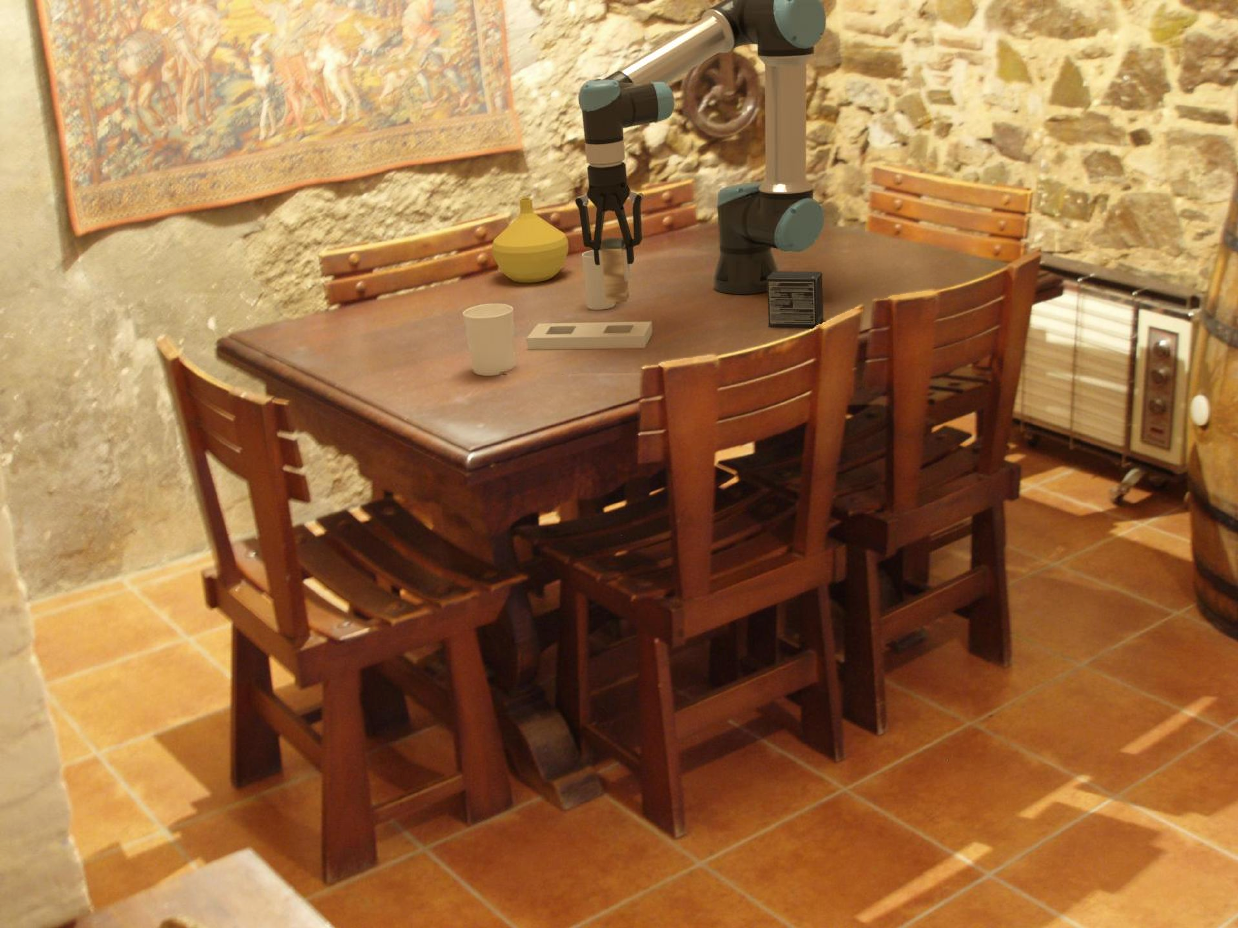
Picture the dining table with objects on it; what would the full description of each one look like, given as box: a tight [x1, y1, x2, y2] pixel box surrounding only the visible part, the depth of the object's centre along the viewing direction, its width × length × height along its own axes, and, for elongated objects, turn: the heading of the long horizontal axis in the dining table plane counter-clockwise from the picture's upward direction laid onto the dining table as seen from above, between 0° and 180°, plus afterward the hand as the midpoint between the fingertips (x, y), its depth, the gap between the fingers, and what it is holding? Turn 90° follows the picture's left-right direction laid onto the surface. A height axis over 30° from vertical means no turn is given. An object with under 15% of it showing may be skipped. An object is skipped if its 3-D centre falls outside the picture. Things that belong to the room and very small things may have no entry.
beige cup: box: [462, 303, 516, 377], centre depth 278 cm, size 10×10×12 cm
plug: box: [601, 237, 630, 303], centre depth 285 cm, size 4×4×12 cm
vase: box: [491, 197, 569, 284], centre depth 342 cm, size 18×18×19 cm
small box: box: [766, 270, 824, 329], centre depth 293 cm, size 11×6×10 cm, turn 71°
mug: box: [581, 249, 616, 311], centre depth 316 cm, size 10×7×12 cm, turn 125°
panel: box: [526, 321, 653, 351], centre depth 291 cm, size 24×10×3 cm, turn 80°
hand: (616, 279), depth 285 cm, fingers closed on plug, 4 cm apart
